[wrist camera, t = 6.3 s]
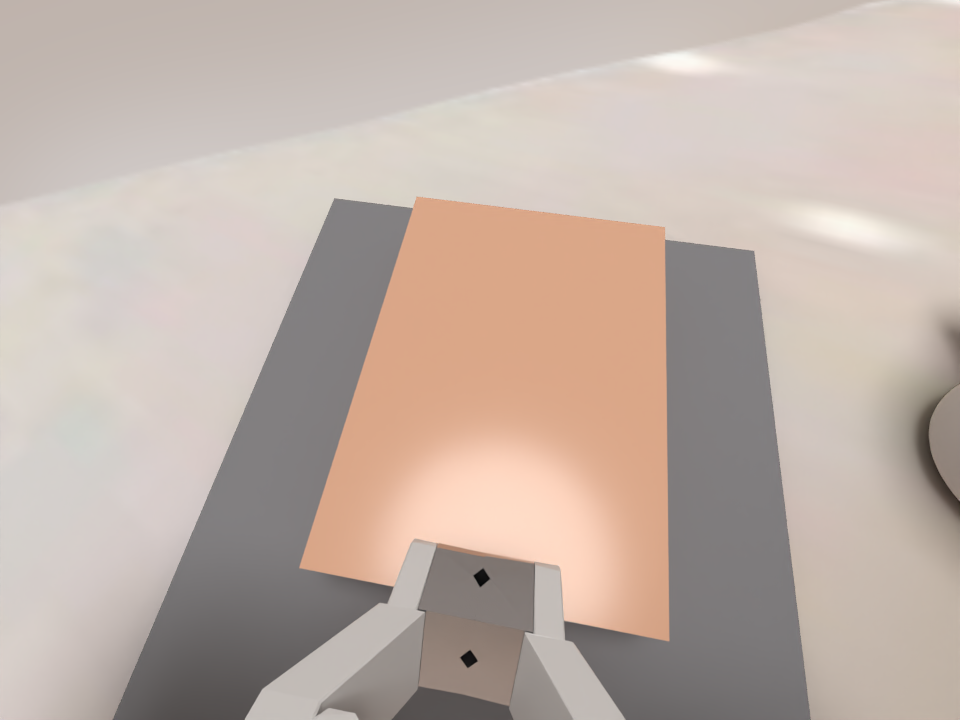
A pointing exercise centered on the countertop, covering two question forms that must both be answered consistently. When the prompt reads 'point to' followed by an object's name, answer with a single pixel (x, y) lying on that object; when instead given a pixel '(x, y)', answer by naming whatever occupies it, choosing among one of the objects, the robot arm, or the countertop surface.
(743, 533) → the mat
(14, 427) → the countertop surface
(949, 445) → the cup
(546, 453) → the peach rectangular block
